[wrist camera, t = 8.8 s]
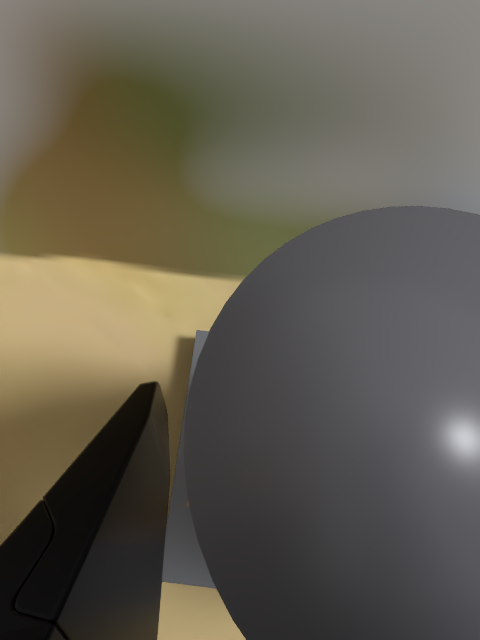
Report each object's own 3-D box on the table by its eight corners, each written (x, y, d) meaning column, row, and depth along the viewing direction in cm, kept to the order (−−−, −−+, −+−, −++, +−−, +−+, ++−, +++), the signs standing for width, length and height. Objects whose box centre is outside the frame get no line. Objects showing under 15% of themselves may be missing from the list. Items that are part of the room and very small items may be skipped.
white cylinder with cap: (296, 494, 16) (704, 936, 2) (214, 454, 17) (81, 591, 2) (327, 410, 17) (743, 310, 3) (250, 375, 18) (300, 146, 4)
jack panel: (576, 620, 15) (614, 641, 14) (165, 567, 16) (157, 582, 14) (545, 376, 18) (574, 371, 16) (199, 338, 18) (196, 329, 17)
